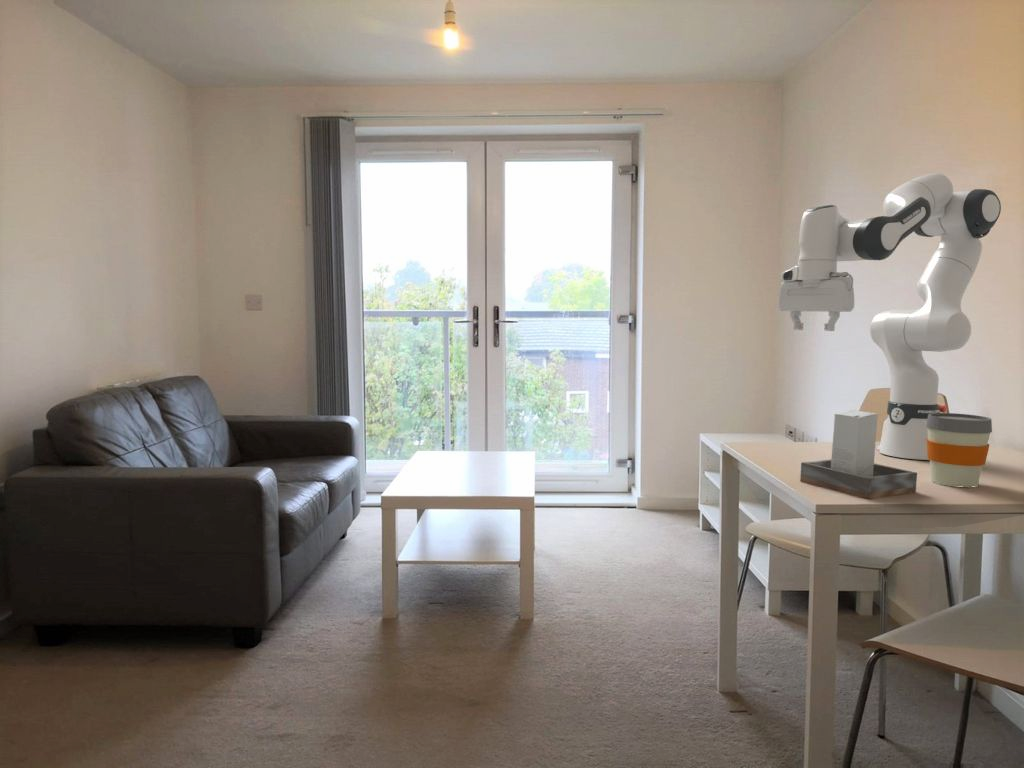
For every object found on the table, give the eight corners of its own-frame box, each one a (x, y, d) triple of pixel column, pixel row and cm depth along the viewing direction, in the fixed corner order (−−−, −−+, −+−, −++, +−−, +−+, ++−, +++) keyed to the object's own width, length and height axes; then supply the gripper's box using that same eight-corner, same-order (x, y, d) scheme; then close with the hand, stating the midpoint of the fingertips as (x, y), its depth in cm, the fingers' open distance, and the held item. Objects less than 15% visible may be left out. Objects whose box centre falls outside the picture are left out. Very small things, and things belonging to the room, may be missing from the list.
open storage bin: (847, 475, 169) (848, 457, 169) (915, 492, 154) (917, 472, 154) (800, 481, 163) (801, 462, 162) (866, 499, 147) (868, 478, 147)
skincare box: (847, 475, 164) (851, 409, 163) (874, 480, 159) (879, 412, 158) (828, 480, 159) (832, 412, 157) (856, 485, 154) (860, 415, 153)
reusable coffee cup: (965, 477, 169) (971, 413, 168) (1000, 490, 157) (1006, 421, 156) (911, 476, 170) (915, 412, 168) (941, 489, 157) (946, 420, 156)
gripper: (862, 272, 169) (858, 331, 171) (793, 275, 188) (790, 329, 189) (843, 270, 167) (839, 331, 168) (775, 274, 185) (772, 329, 186)
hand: (813, 330), depth 179 cm, fingers open, 8 cm apart
